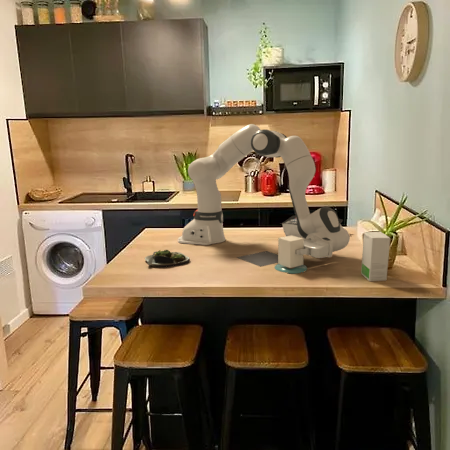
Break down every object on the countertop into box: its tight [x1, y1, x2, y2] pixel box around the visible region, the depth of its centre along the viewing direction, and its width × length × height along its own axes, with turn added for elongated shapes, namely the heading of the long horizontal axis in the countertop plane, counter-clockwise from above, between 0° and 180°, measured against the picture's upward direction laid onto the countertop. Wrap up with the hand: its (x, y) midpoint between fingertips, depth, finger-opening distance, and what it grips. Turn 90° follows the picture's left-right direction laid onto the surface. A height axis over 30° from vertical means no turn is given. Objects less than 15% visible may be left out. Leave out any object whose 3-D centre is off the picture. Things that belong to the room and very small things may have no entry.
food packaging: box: [280, 215, 344, 239], centre depth 228 cm, size 25×8×23 cm
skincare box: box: [360, 231, 391, 282], centre depth 164 cm, size 8×7×16 cm
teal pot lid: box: [274, 263, 308, 275], centre depth 177 cm, size 12×12×4 cm
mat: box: [235, 250, 278, 267], centre depth 190 cm, size 16×16×1 cm
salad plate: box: [144, 249, 190, 269], centre depth 191 cm, size 19×18×5 cm
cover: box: [277, 235, 304, 268], centre depth 176 cm, size 7×7×10 cm
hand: (289, 250), depth 175 cm, fingers closed on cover, 7 cm apart
